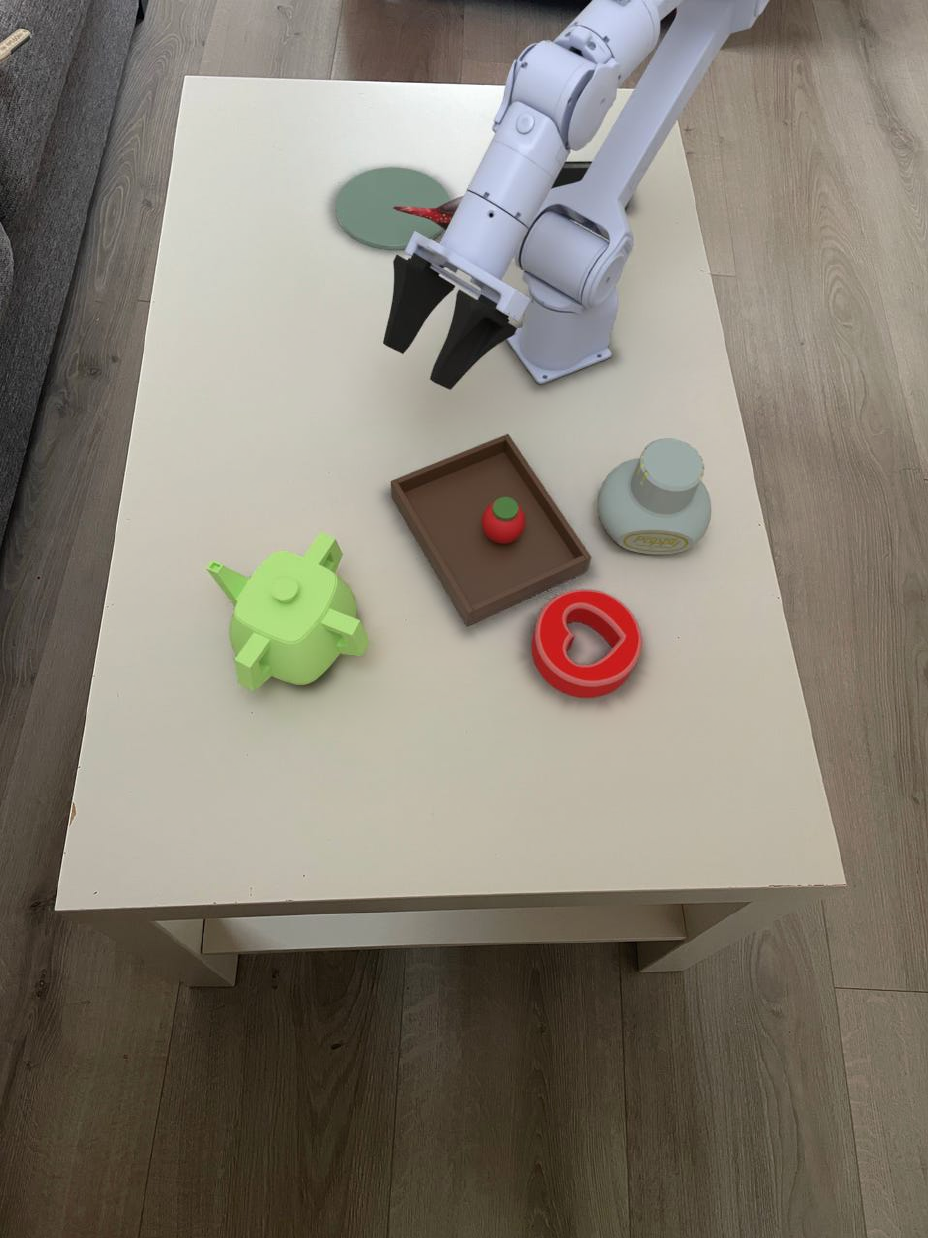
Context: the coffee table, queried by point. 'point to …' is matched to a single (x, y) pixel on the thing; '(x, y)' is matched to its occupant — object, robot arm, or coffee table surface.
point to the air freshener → (657, 499)
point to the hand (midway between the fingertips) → (415, 366)
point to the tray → (458, 547)
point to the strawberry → (503, 521)
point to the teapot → (291, 615)
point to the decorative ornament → (557, 639)
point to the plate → (389, 206)
